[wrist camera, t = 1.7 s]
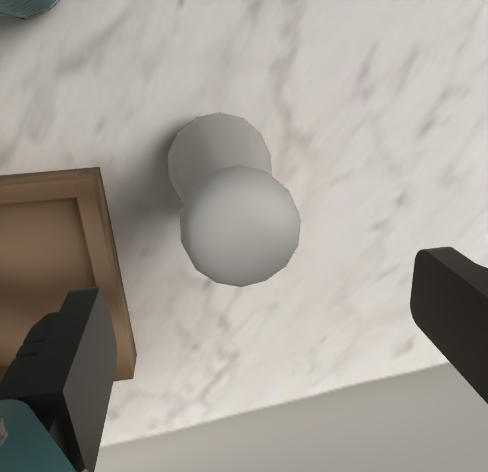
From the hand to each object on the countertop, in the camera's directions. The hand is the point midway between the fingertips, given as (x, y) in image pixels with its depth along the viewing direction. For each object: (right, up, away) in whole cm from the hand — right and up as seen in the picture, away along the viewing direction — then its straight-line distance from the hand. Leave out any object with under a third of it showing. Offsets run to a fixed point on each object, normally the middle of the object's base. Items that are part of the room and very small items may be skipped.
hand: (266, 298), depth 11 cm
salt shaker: (-2, +7, +15) cm, 17 cm away
